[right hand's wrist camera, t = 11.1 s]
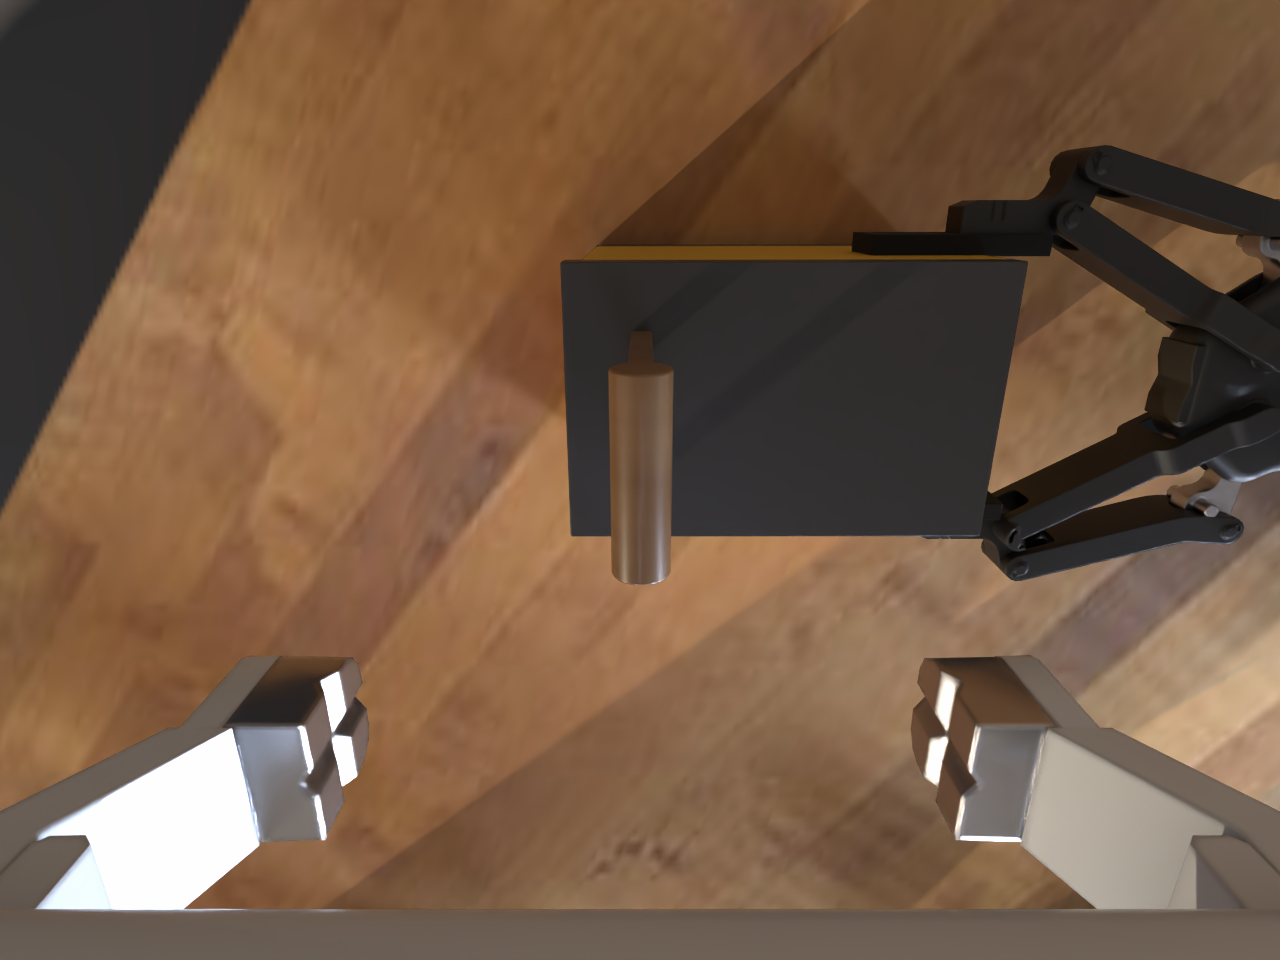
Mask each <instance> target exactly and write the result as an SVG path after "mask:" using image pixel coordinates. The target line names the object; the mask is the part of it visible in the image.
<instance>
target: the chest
mask: <svg viewBox="0 0 1280 960" xmlns="http://www.w3.org/2000/svg"><path fill="white" fill-rule="evenodd" d="M797 259H1007V258H1000V257H993V256H985V255H908V256H871V255H866V254H862V253H857V252H852V245H597V247H596V248H595V249H594V250H593V251H592V252H590V253H589V254H588V255H587V256H586V257H585V258H583V259H582V260H797Z"/></svg>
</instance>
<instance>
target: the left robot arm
mask: <svg viewBox="0 0 1280 960" xmlns="http://www.w3.org/2000/svg"><path fill="white" fill-rule="evenodd" d="M1050 176H1051V177H1050V179H1049V181H1048V183H1047V185H1046V186H1045V188H1044V189H1043V191H1042V192H1041V193H1040V194H1039V195H1038V196H1036V197H1035V198H1032V199H1030V200H971V201H961V202H958V203H956V204H953V205H951V206H949V209H948V216H947V223H946V230H945V232H853V241H852V252H857V253H862V254H866V255H871V256H908V255H985V256H1050V252H1051V246H1052V247H1053V248H1055V249H1056V250H1058V251H1059V252H1061V253H1062V254H1064V255H1065V256H1067V257H1068V258H1070V259H1071V260H1073V261H1074V262H1076V263H1077V264H1079V265H1080V266H1082V267H1083V268H1085V269H1086V270H1088V271H1089V272H1091V273H1092V274H1094V275H1095V276H1097V277H1099V278H1100V279H1102V280H1103V281H1105V282H1106V283H1108V284H1109V285H1111V286H1112V287H1114V288H1115V289H1117V290H1118V291H1120V292H1121V293H1123V294H1124V295H1126V296H1127V297H1129V298H1130V299H1132V300H1133V301H1135V302H1136V303H1138V304H1139V305H1141V306H1142V307H1144V308H1145V309H1146V313H1148V314H1149V315H1150V316H1152V317H1153V318H1155V319H1156V320H1158V321H1159V322H1161V323H1162V324H1164V325H1166V326H1167V327H1169V328H1170V329H1172V330H1173V332H1172V333H1171V335H1170V337H1162V341H1161V345H1160V349H1159V353H1158V376H1157V378H1156V380H1155V382H1154V383H1153V385H1152V387H1151V389H1150V391H1149V393H1148V398H1147V402H1146V406H1145V410H1146V411H1148V412H1146V413H1144V414H1142V415H1140V416H1138V417H1136V418H1134V419H1132V420H1130V421H1128V422H1126V423H1123V424H1122V425H1120V426H1119V427H1118V428H1117V433H1116V434H1114V435H1112V436H1110V437H1108V438H1106V439H1104V440H1102V441H1100V442H1098V443H1096V444H1094V445H1092V446H1089V447H1087V448H1085V449H1083V450H1081V451H1079V452H1077V453H1075V454H1073V455H1071V456H1069V457H1067V458H1064V459H1062V460H1060V461H1058V462H1056V463H1054V464H1052V465H1050V466H1048V467H1046V468H1044V469H1042V470H1039V471H1037V472H1035V473H1033V474H1031V475H1029V476H1027V477H1025V478H1023V479H1021V480H1019V481H1017V482H1015V483H1012V484H1010V485H1008V486H1006V487H1004V488H1002V489H1000V490H998V491H996V492H994V493H992V494H991V493H990V492H989V491H987V496H986V502H985V507H984V513H983V519H982V524H981V530H980V535H979V536H921V537H924V538H926V539H940V538H942V539H949V538H951V539H983V542H982V546H981V548H982V551H983V552H984V553H985V554H986V555H987V556H988V557H989V559H990V560H991V561H992V562H993V563H994V564H995V565H996V566H997V567H998V568H999V569H1000V570H1001V571H1002V572H1003V573H1004V574H1005V575H1006V576H1007V577H1009V578H1010V579H1011V580H1014V581H1022V580H1026V579H1031V578H1035V577H1039V576H1043V575H1047V574H1052V573H1056V572H1060V571H1064V570H1068V569H1073V568H1077V567H1081V566H1085V565H1089V564H1094V563H1098V562H1102V561H1106V560H1110V559H1115V558H1119V557H1123V556H1127V555H1131V554H1136V553H1140V552H1144V551H1148V550H1152V549H1157V548H1161V547H1165V546H1169V545H1173V544H1178V543H1182V542H1198V543H1213V544H1230V543H1232V542H1235V541H1236V540H1237V539H1238V538H1240V536H1241V535H1242V533H1243V529H1244V526H1243V523H1242V522H1241V521H1240V520H1239V519H1237V518H1235V517H1233V516H1231V515H1230V513H1231V511H1232V508H1233V506H1234V503H1235V500H1236V498H1237V495H1238V493H1239V490H1240V488H1241V485H1242V482H1246V481H1251V480H1254V479H1256V478H1258V477H1260V476H1262V475H1265V474H1267V473H1271V472H1274V471H1280V199H1272V198H1269V197H1266V196H1263V195H1260V194H1257V193H1253V192H1250V191H1247V190H1244V189H1241V188H1238V187H1235V186H1232V185H1229V184H1226V183H1223V182H1220V181H1217V180H1214V179H1211V178H1208V177H1205V176H1202V175H1199V174H1195V173H1192V172H1189V171H1186V170H1183V169H1180V168H1177V167H1174V166H1171V165H1168V164H1165V163H1162V162H1159V161H1156V160H1153V159H1150V158H1147V157H1144V156H1140V155H1137V154H1134V153H1131V152H1128V151H1125V150H1122V149H1119V148H1116V147H1113V146H1107V145H1103V146H1096V147H1088V148H1081V149H1073V150H1066V151H1063V152H1060V153H1059V154H1058V155H1057V156H1055V158H1054V159H1053V161H1052V162H1051V166H1050ZM1095 196H1098V197H1101V198H1104V199H1108V200H1111V201H1114V202H1117V203H1120V204H1123V205H1126V206H1129V207H1133V208H1136V209H1139V210H1142V211H1145V212H1148V213H1151V214H1154V215H1158V216H1161V217H1164V218H1167V219H1170V220H1173V221H1176V222H1180V223H1183V224H1186V225H1189V226H1192V227H1195V228H1198V229H1201V230H1205V231H1208V232H1213V233H1217V234H1227V235H1238V236H1237V239H1236V244H1237V246H1239V247H1242V249H1243V251H1244V253H1245V254H1247V255H1249V256H1253V257H1257V258H1259V259H1260V260H1261V261H1262V263H1263V267H1264V269H1263V272H1262V273H1260V274H1257V275H1255V276H1254V277H1252V278H1250V279H1249V280H1247V281H1246V282H1244V283H1242V284H1241V285H1239V286H1237V287H1236V288H1234V289H1233V290H1231V291H1229V292H1228V293H1226V294H1223V293H1220V292H1218V291H1215V290H1213V289H1210V288H1209V287H1207V286H1206V285H1204V284H1203V283H1201V282H1200V281H1198V280H1197V279H1196V278H1194V277H1193V276H1191V275H1190V274H1188V273H1187V272H1185V271H1184V270H1182V269H1181V268H1179V267H1178V266H1176V265H1175V264H1174V263H1172V262H1171V261H1169V260H1168V259H1166V258H1165V257H1163V256H1162V255H1160V254H1159V253H1157V252H1156V251H1154V250H1153V249H1152V248H1150V247H1149V246H1147V245H1146V244H1144V243H1143V242H1141V241H1140V240H1138V239H1137V238H1135V237H1134V236H1133V235H1131V234H1130V233H1128V232H1127V231H1125V230H1124V229H1122V228H1121V227H1119V226H1118V225H1116V224H1115V223H1113V222H1112V221H1111V220H1109V219H1108V218H1106V217H1105V216H1103V215H1102V214H1100V213H1099V212H1097V211H1096V210H1094V209H1093V208H1092V207H1090V205H1091V203H1092V201H1093V199H1094V197H1095ZM1197 466H1200V467H1201V468H1203V469H1204V470H1205V473H1204V475H1203V476H1202V477H1201V479H1200V480H1198V481H1197V482H1195V483H1193V484H1189V485H1183V486H1181V487H1179V486H1175V485H1174V486H1171V487H1170V488H1169V489H1168V491H1167V495H1151V496H1144V497H1139V498H1134V499H1130V500H1126V501H1122V502H1118V503H1114V504H1110V505H1105V506H1101V507H1097V508H1093V509H1089V508H1092V507H1094V506H1096V505H1098V504H1100V503H1102V502H1104V501H1107V500H1109V499H1111V498H1113V497H1115V496H1117V495H1120V494H1122V493H1124V492H1126V491H1128V490H1130V489H1132V488H1135V487H1137V486H1139V485H1141V484H1143V483H1145V482H1147V481H1150V480H1152V479H1154V478H1156V477H1158V476H1162V475H1178V474H1181V473H1184V472H1187V471H1189V470H1191V469H1193V468H1195V467H1197ZM1087 509H1089V510H1087Z"/></svg>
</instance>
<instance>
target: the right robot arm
mask: <svg viewBox="0 0 1280 960" xmlns="http://www.w3.org/2000/svg"><path fill="white" fill-rule="evenodd" d="M362 683H363V682H362V677H361V672H360V667H359V663H358V662H357V661H356V660H355V659H354V658H353V657H315V656H284V657H283V656H249V657H246V658H242V659H241V660H240V661H239V662H238V664H237V665H236V666H235V667H234V668H233V669H232V670H231V671H230V672H229V674H228V675H227V676H226V677H225V678H224V679H223V680H222V681H221V682H220V684H219V685H218V686H217V687H216V688H215V689H214V690H213V691H212V693H211V694H210V695H209V696H208V697H207V698H206V699H205V700H204V701H203V703H202V704H201V705H200V706H199V707H198V708H197V709H196V710H195V712H194V713H193V714H192V715H191V716H190V717H189V718H188V719H187V720H186V722H185V723H184V724H183V725H182V726H181V727H180V728H167V729H165V730H163V731H161V732H159V733H157V734H155V735H153V736H151V737H149V738H147V739H145V740H143V741H141V742H139V743H137V744H135V745H133V746H131V747H129V748H127V749H125V750H123V751H121V752H119V753H117V754H115V755H113V756H111V757H109V758H107V759H105V760H103V761H101V762H99V763H97V764H95V765H93V766H91V767H89V768H87V769H85V770H83V771H81V772H79V773H76V774H74V775H72V776H70V777H68V778H66V779H64V780H62V781H60V782H58V783H56V784H54V785H52V786H50V787H48V788H46V789H44V790H42V791H40V792H38V793H36V794H34V795H32V796H30V797H28V798H26V799H24V800H22V801H20V802H18V803H16V804H14V805H12V806H10V807H8V808H6V809H4V810H2V811H0V960H1280V811H1278V810H1276V809H1274V808H1272V807H1270V806H1268V805H1266V804H1264V803H1262V802H1260V801H1258V800H1256V799H1254V798H1252V797H1250V796H1248V795H1245V794H1243V793H1241V792H1239V791H1237V790H1235V789H1233V788H1231V787H1229V786H1227V785H1225V784H1223V783H1221V782H1219V781H1217V780H1215V779H1213V778H1211V777H1209V776H1207V775H1205V774H1203V773H1201V772H1199V771H1197V770H1195V769H1193V768H1191V767H1189V766H1187V765H1185V764H1183V763H1181V762H1179V761H1177V760H1175V759H1173V758H1171V757H1169V756H1167V755H1165V754H1163V753H1161V752H1159V751H1157V750H1155V749H1153V748H1151V747H1149V746H1147V745H1145V744H1143V743H1141V742H1139V741H1137V740H1135V739H1133V738H1131V737H1129V736H1127V735H1125V734H1123V733H1121V732H1119V731H1117V730H1115V729H1113V728H1100V727H1099V726H1098V725H1097V724H1096V723H1095V722H1094V720H1093V719H1092V718H1091V717H1090V716H1089V715H1088V714H1087V713H1086V712H1085V710H1084V709H1083V708H1082V707H1081V706H1080V705H1079V704H1078V703H1077V702H1076V700H1075V699H1074V698H1073V697H1072V696H1071V695H1070V694H1069V693H1068V691H1067V690H1066V689H1065V688H1064V687H1063V686H1062V685H1061V684H1060V683H1059V681H1058V680H1057V679H1056V678H1055V677H1054V676H1053V675H1052V674H1051V672H1050V671H1049V670H1048V669H1047V668H1046V667H1045V666H1044V665H1043V664H1042V662H1041V661H1040V660H1039V659H1037V658H1035V657H1033V656H1030V655H1022V656H995V657H969V658H924V660H923V662H922V665H921V667H920V670H919V676H918V682H917V683H918V685H919V686H920V688H921V690H922V692H923V693H924V695H925V697H924V698H923V699H922V700H921V701H920V702H919V703H918V704H917V705H916V706H915V707H914V709H913V715H912V723H911V736H912V747H913V751H914V755H915V758H916V762H917V764H918V766H919V768H920V770H921V772H922V775H923V776H924V777H925V778H926V779H928V780H929V781H931V782H932V783H933V784H935V785H936V786H938V790H937V796H936V803H937V805H938V807H939V809H940V811H941V813H942V814H943V816H944V818H945V820H946V822H947V824H948V826H949V828H950V830H951V832H952V834H953V836H954V838H955V840H976V841H1012V842H1021V844H1020V845H1021V846H1022V847H1024V848H1025V849H1026V850H1027V851H1028V852H1030V853H1031V854H1032V855H1033V856H1034V857H1036V858H1037V859H1038V860H1039V861H1040V862H1042V863H1043V864H1044V865H1045V866H1046V867H1047V868H1049V869H1050V870H1051V871H1052V872H1053V873H1055V874H1056V875H1057V876H1058V877H1059V878H1061V879H1062V880H1063V881H1064V882H1065V883H1067V884H1068V885H1069V886H1070V887H1071V888H1073V889H1074V890H1075V891H1076V892H1077V893H1079V894H1080V895H1081V896H1082V897H1083V898H1085V899H1086V900H1087V901H1088V902H1089V903H1091V904H1092V905H1093V906H1094V907H1095V908H1096V909H184V908H185V907H186V906H187V905H189V904H190V903H191V902H192V901H193V900H194V899H196V898H197V897H198V896H199V895H200V894H202V893H203V892H204V891H205V890H206V889H208V888H209V887H210V886H211V885H212V884H214V883H215V882H216V881H217V880H218V879H220V878H221V877H222V876H223V875H224V874H226V873H227V872H228V871H229V870H230V869H232V868H233V867H234V866H235V865H236V864H238V863H239V862H240V861H241V860H242V859H244V858H245V857H246V856H247V855H248V854H250V853H251V852H252V851H253V850H254V849H256V848H257V847H258V846H259V842H268V841H303V840H325V838H326V836H327V834H328V832H329V830H330V828H331V826H332V824H333V822H334V820H335V818H336V816H337V815H338V813H339V811H340V809H341V807H342V805H343V803H344V796H343V790H342V786H344V785H345V784H347V783H348V782H349V781H351V780H352V779H354V778H355V777H356V776H357V775H358V772H359V770H360V768H361V766H362V764H363V762H364V759H365V754H366V750H367V745H368V741H369V721H368V714H367V709H366V707H365V706H364V705H363V704H362V703H361V702H360V701H359V700H358V699H357V698H356V697H355V695H356V693H357V692H358V690H359V688H360V687H361V685H362Z"/></svg>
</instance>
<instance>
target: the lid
mask: <svg viewBox="0 0 1280 960" xmlns="http://www.w3.org/2000/svg"><path fill="white" fill-rule="evenodd" d="M1027 265H1028V262H1027V261H1021V260H1014V259H797V260H564V261H562V262H561V263H560V267H561V293H562V319H563V345H564V371H565V397H566V423H567V449H568V474H569V500H570V526H571V536H611V554H612V573H613V575H614V577H615V578H616V579H618V580H619V581H621V582H623V583H626V584H631V585H652V584H656V583H659V582H661V581H663V580H665V579H666V578H667V577H668V576H669V574H670V572H671V536H979V535H980V530H981V524H982V519H983V513H984V507H985V502H986V496H987V490H988V485H989V479H990V474H991V468H992V462H993V457H994V451H995V445H996V440H997V434H998V429H999V423H1000V417H1001V412H1002V406H1003V400H1004V395H1005V389H1006V384H1007V378H1008V372H1009V367H1010V361H1011V355H1012V350H1013V344H1014V339H1015V333H1016V327H1017V322H1018V316H1019V310H1020V305H1021V299H1022V294H1023V288H1024V282H1025V277H1026V271H1027Z"/></svg>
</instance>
